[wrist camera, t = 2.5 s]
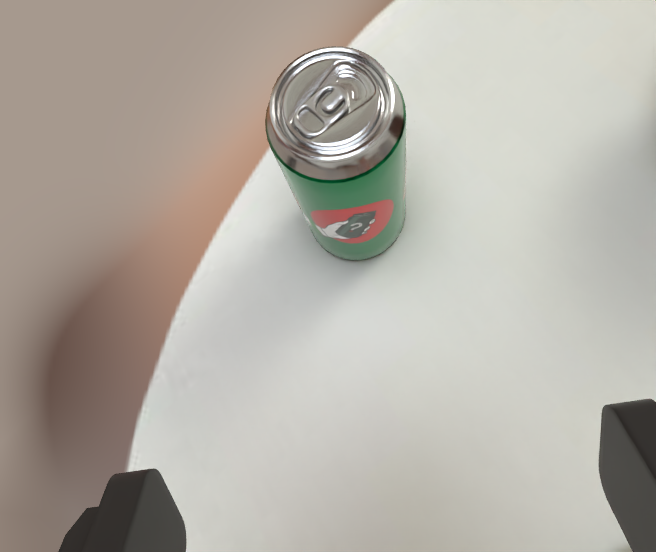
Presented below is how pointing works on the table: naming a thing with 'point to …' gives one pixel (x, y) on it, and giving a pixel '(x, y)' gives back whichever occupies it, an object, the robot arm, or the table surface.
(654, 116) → the table surface
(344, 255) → the soda can
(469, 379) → the table surface
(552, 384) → the table surface
